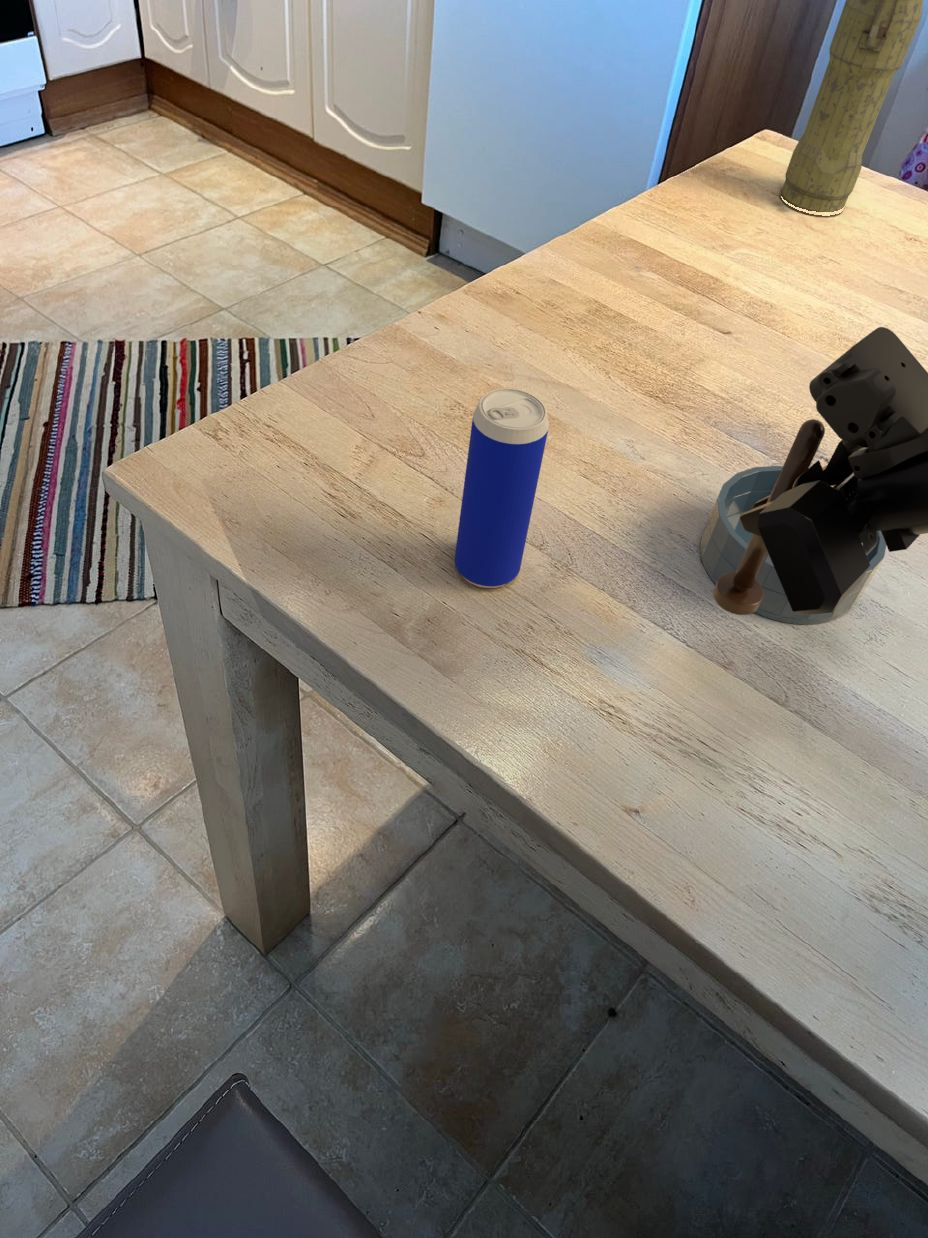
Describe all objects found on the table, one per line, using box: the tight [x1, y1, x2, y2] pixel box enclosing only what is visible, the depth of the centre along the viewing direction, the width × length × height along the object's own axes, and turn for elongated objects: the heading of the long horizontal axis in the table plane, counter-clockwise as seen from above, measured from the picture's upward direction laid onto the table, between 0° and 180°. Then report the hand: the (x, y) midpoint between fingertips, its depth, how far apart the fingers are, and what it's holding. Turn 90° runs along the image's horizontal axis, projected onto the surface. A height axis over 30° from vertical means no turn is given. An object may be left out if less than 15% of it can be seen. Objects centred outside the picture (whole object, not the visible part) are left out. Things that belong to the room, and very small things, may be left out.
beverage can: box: [453, 387, 550, 589], centre depth 68 cm, size 5×5×15 cm
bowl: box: [699, 465, 887, 626], centre depth 76 cm, size 13×13×5 cm
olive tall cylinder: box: [779, 0, 924, 218], centre depth 115 cm, size 9×12×35 cm
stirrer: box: [713, 418, 826, 616], centre depth 60 cm, size 3×3×15 cm
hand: (750, 516), depth 61 cm, fingers closed on stirrer
